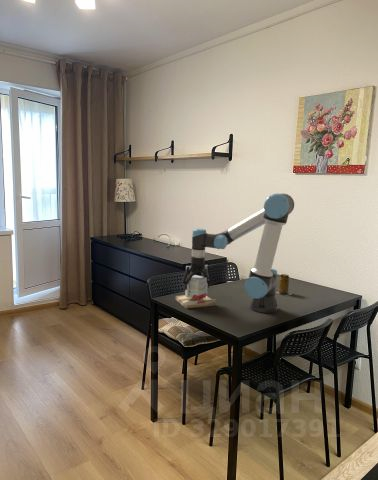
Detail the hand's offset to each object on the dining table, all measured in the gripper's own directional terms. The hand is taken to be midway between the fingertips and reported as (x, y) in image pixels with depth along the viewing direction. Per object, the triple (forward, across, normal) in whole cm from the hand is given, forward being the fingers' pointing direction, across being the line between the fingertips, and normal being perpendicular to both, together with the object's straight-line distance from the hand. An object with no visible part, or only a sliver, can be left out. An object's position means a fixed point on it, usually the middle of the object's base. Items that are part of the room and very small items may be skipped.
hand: (196, 294), depth 210 cm
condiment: (+5, -63, -2) cm, 63 cm away
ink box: (+2, 0, 0) cm, 2 cm away
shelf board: (+5, 0, -1) cm, 5 cm away
